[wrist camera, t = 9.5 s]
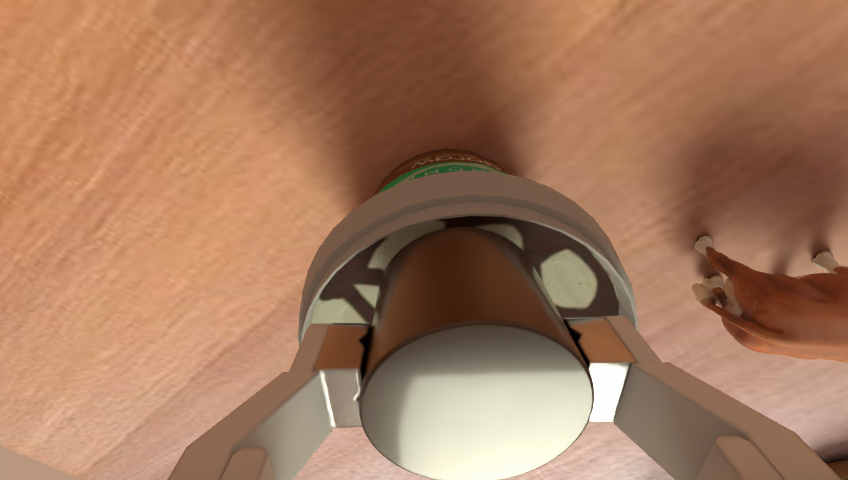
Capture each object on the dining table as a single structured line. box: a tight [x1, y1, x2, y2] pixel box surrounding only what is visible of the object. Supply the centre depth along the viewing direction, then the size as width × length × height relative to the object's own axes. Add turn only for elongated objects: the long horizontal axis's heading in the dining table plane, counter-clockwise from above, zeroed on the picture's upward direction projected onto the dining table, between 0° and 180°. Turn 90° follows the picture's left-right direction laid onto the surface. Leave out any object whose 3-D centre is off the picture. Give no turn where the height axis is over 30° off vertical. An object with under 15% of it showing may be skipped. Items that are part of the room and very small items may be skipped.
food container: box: [298, 149, 639, 347], centre depth 16 cm, size 12×6×10 cm, turn 101°
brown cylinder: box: [359, 227, 594, 480], centre depth 9 cm, size 5×5×4 cm
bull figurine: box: [692, 236, 848, 362], centre depth 19 cm, size 4×13×8 cm, turn 77°
